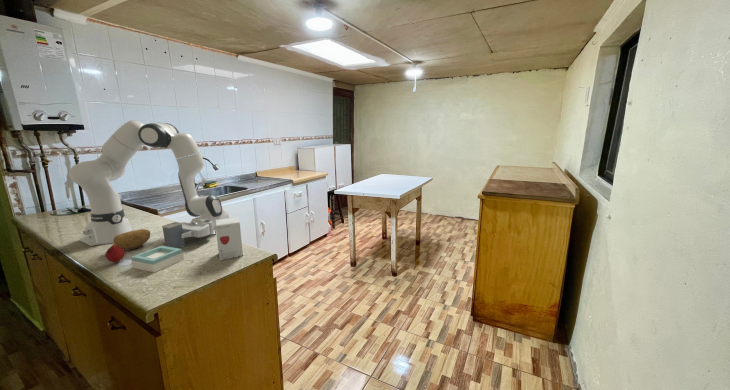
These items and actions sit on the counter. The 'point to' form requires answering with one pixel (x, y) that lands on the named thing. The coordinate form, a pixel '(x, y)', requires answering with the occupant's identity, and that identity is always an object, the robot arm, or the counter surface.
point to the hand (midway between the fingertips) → (173, 235)
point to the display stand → (157, 258)
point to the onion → (115, 253)
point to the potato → (132, 239)
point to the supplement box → (229, 238)
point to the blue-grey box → (173, 235)
